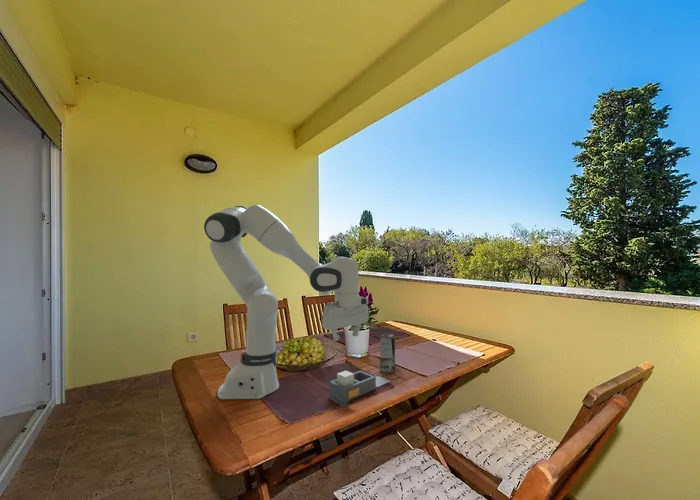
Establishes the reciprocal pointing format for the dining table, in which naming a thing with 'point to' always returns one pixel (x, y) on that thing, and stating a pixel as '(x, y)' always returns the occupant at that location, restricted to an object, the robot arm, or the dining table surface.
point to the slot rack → (354, 388)
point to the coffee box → (387, 352)
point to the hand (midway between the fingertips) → (346, 338)
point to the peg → (345, 378)
